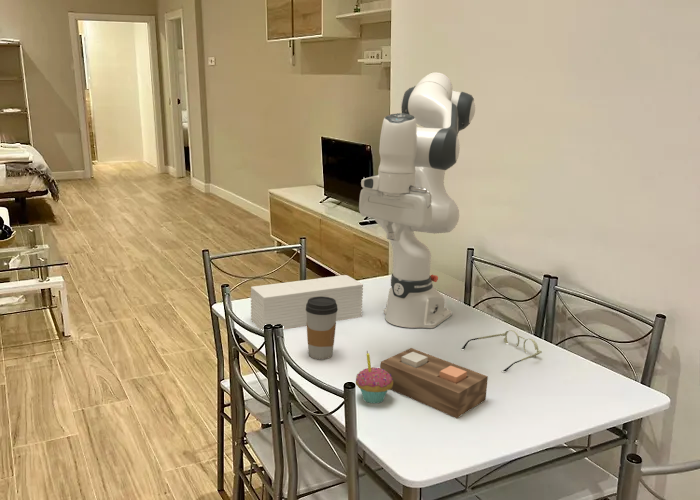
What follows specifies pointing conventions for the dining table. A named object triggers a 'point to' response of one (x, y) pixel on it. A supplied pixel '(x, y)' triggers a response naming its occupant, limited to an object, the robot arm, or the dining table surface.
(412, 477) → the dining table surface
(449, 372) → the terracotta key
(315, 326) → the coffee cup
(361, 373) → the cupcake
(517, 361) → the round eyeglasses
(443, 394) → the walnut key panel
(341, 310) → the stack of papers
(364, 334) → the dining table surface
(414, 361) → the cream white cube
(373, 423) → the dining table surface
